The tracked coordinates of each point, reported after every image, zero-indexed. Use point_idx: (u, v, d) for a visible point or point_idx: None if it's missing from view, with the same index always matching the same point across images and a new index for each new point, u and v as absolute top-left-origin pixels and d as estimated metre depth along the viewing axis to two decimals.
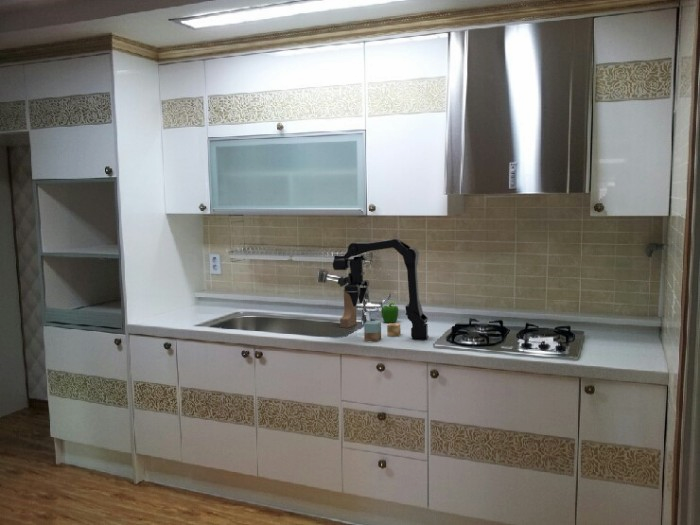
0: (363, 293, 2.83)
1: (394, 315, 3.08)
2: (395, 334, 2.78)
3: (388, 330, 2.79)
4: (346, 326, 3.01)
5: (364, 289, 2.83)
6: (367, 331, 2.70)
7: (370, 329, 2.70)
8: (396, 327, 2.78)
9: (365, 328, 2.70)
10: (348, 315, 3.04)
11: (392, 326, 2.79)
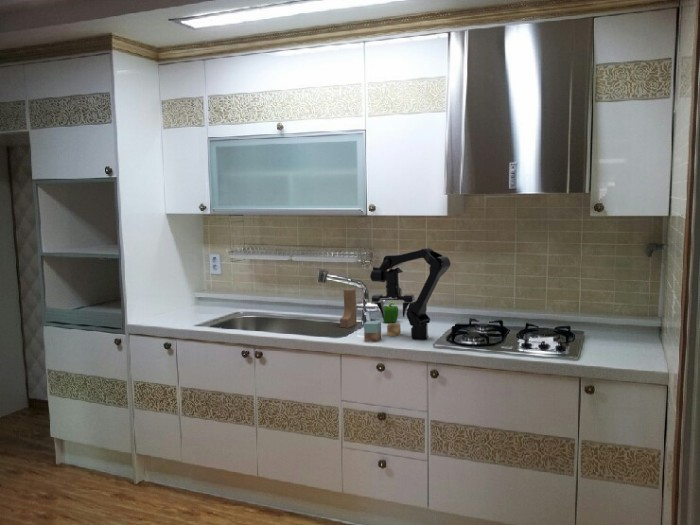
0: None
1: (394, 315, 3.08)
2: (395, 334, 2.78)
3: (388, 330, 2.79)
4: (346, 326, 3.01)
5: None
6: (367, 331, 2.70)
7: (370, 329, 2.70)
8: (396, 327, 2.78)
9: (365, 328, 2.70)
10: (348, 315, 3.04)
11: (392, 326, 2.79)
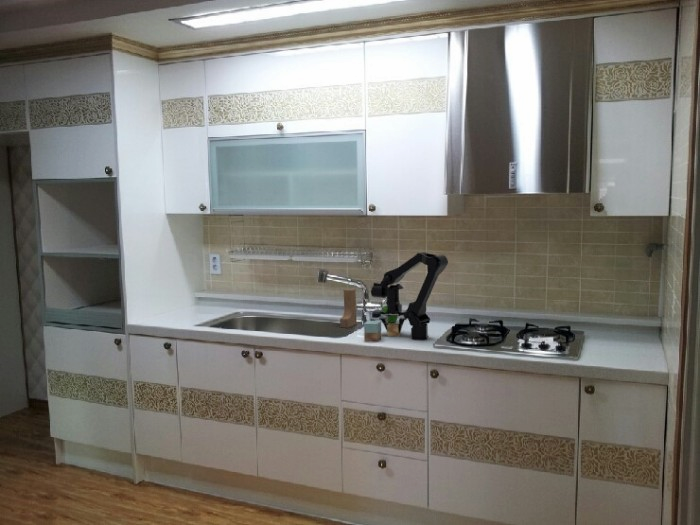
0: None
1: None
2: (395, 334, 2.78)
3: (388, 330, 2.79)
4: (346, 326, 3.01)
5: None
6: (367, 331, 2.70)
7: (370, 329, 2.70)
8: (396, 327, 2.78)
9: (365, 328, 2.71)
10: (348, 315, 3.04)
11: (392, 326, 2.79)
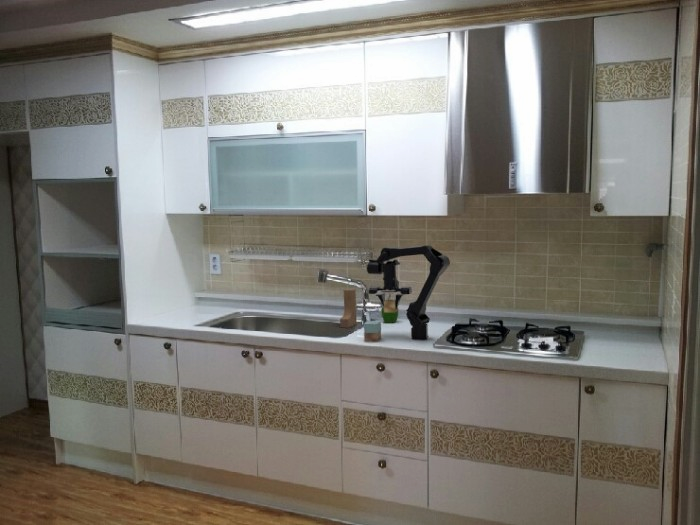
0: None
1: (394, 315, 3.08)
2: (392, 310, 2.77)
3: (385, 306, 2.77)
4: (346, 326, 3.01)
5: None
6: (367, 331, 2.70)
7: (370, 329, 2.70)
8: (393, 303, 2.76)
9: (365, 328, 2.70)
10: (348, 315, 3.04)
11: (389, 302, 2.77)
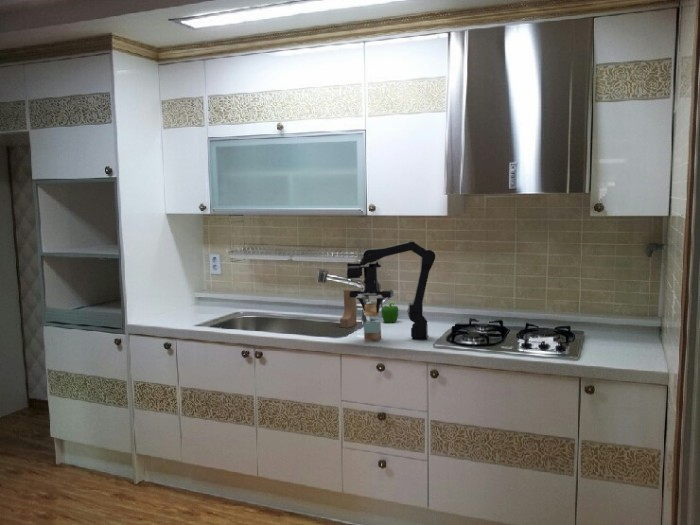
0: None
1: (394, 315, 3.08)
2: (373, 314, 2.69)
3: (366, 310, 2.70)
4: (346, 326, 3.01)
5: None
6: (367, 331, 2.70)
7: (370, 329, 2.70)
8: (374, 307, 2.69)
9: (365, 328, 2.70)
10: (348, 315, 3.04)
11: (370, 306, 2.69)
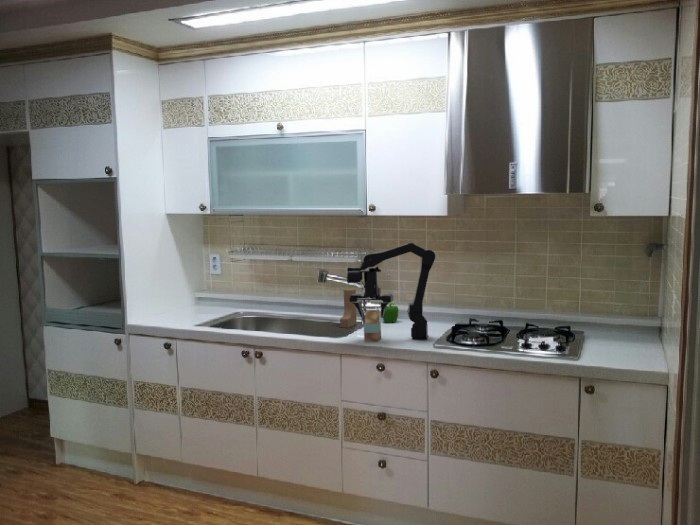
0: None
1: (394, 315, 3.08)
2: (373, 321, 2.69)
3: (366, 317, 2.70)
4: (346, 326, 3.01)
5: None
6: (367, 331, 2.70)
7: (370, 329, 2.70)
8: (374, 314, 2.69)
9: (365, 328, 2.70)
10: (348, 315, 3.04)
11: (370, 313, 2.70)
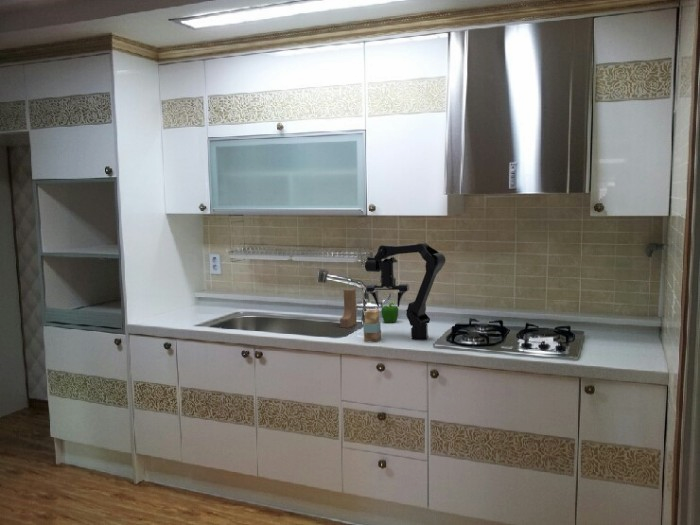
0: None
1: (394, 315, 3.08)
2: (373, 321, 2.70)
3: (366, 317, 2.70)
4: (346, 326, 3.01)
5: (398, 293, 2.77)
6: (366, 331, 2.70)
7: (370, 329, 2.70)
8: (374, 314, 2.69)
9: (364, 328, 2.70)
10: (348, 315, 3.04)
11: (370, 313, 2.70)
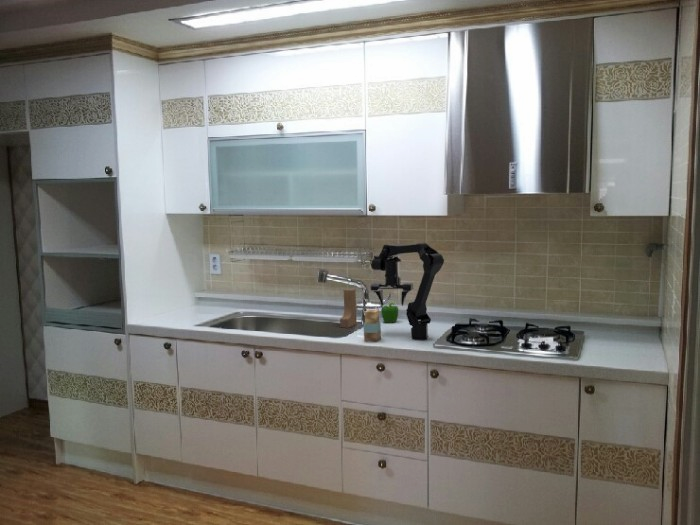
0: None
1: (394, 315, 3.08)
2: (373, 321, 2.70)
3: (366, 317, 2.71)
4: (346, 326, 3.01)
5: None
6: (366, 331, 2.70)
7: (370, 329, 2.70)
8: (374, 313, 2.69)
9: (364, 328, 2.70)
10: (348, 315, 3.04)
11: (370, 312, 2.70)
